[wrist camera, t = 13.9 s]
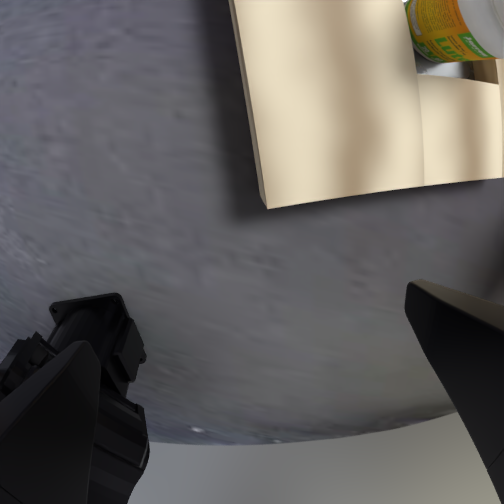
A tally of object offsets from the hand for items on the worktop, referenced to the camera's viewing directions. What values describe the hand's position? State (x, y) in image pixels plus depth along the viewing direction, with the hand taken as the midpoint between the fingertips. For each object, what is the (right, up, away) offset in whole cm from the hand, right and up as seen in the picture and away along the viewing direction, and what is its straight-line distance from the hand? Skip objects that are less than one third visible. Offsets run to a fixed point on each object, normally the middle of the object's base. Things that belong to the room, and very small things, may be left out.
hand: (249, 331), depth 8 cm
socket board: (+9, +15, +9) cm, 20 cm away
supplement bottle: (+13, +18, +8) cm, 23 cm away
